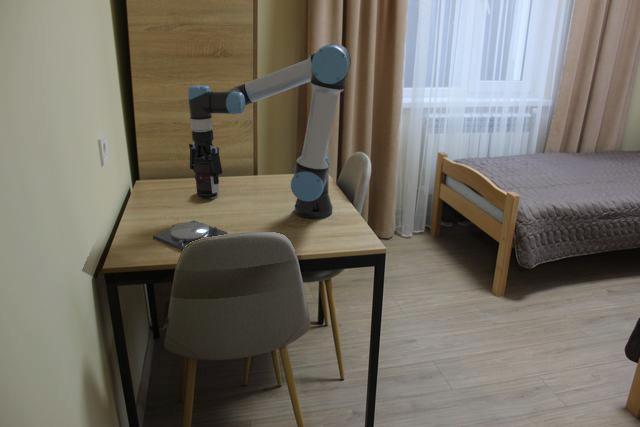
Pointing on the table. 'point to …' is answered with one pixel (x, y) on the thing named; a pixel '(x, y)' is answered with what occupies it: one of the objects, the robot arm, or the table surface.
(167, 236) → the mount board
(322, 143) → the robot arm
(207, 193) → the camera lens
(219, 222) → the table surface
